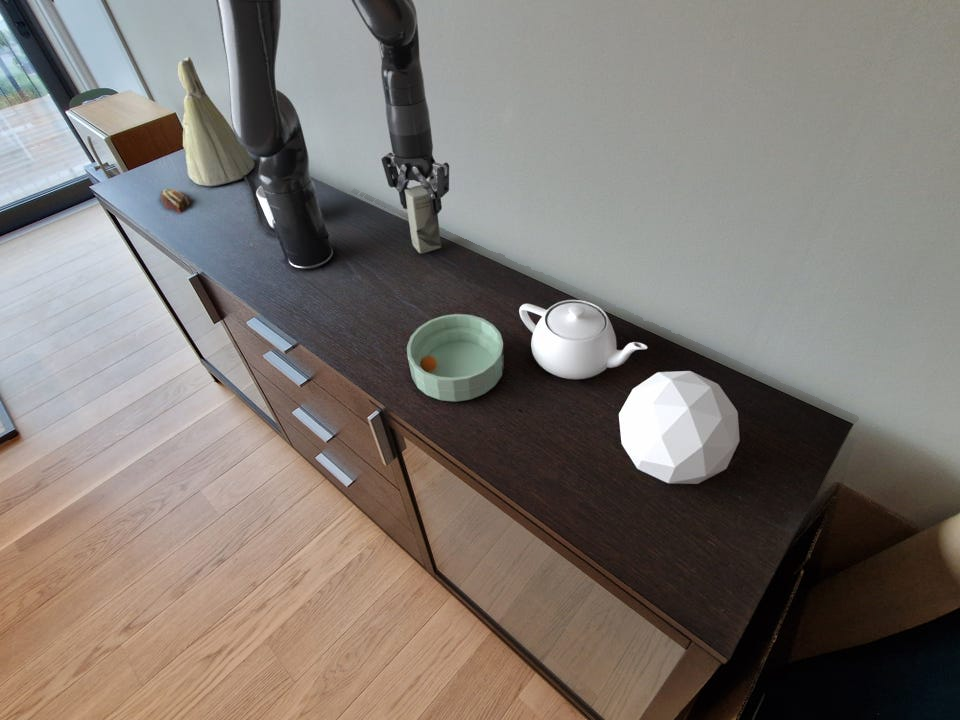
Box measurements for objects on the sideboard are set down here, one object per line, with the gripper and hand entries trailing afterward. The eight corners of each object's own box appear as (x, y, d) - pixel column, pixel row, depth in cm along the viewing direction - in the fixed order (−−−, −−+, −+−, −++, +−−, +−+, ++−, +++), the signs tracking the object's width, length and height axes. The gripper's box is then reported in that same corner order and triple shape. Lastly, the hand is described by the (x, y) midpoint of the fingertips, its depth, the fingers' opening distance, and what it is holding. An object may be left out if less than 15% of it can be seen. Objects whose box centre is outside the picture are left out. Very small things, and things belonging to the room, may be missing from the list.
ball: (417, 357, 85) (419, 366, 87) (424, 368, 84) (426, 377, 86) (431, 350, 86) (433, 359, 88) (438, 361, 85) (440, 370, 87)
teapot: (498, 358, 89) (496, 309, 81) (540, 314, 96) (542, 265, 89) (618, 415, 79) (629, 365, 71) (655, 361, 86) (668, 310, 79)
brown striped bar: (151, 197, 137) (147, 191, 136) (171, 189, 140) (168, 183, 139) (177, 214, 130) (173, 207, 129) (197, 205, 133) (194, 198, 132)
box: (420, 255, 110) (410, 198, 101) (412, 245, 113) (402, 189, 104) (442, 247, 111) (436, 190, 102) (434, 238, 114) (427, 182, 105)
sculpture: (212, 150, 153) (205, 45, 131) (266, 182, 153) (269, 82, 131) (167, 174, 142) (151, 64, 120) (225, 208, 142) (220, 105, 120)
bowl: (394, 385, 86) (388, 361, 82) (441, 328, 95) (438, 304, 91) (476, 416, 80) (474, 392, 76) (518, 353, 89) (518, 328, 86)
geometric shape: (641, 494, 75) (588, 458, 66) (658, 398, 81) (611, 352, 71) (748, 508, 65) (704, 468, 56) (760, 398, 71) (721, 344, 61)
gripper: (454, 122, 94) (461, 208, 106) (388, 112, 99) (402, 195, 111) (432, 139, 89) (443, 226, 101) (364, 127, 94) (381, 212, 106)
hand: (421, 210), depth 106 cm, fingers closed on box, 6 cm apart
